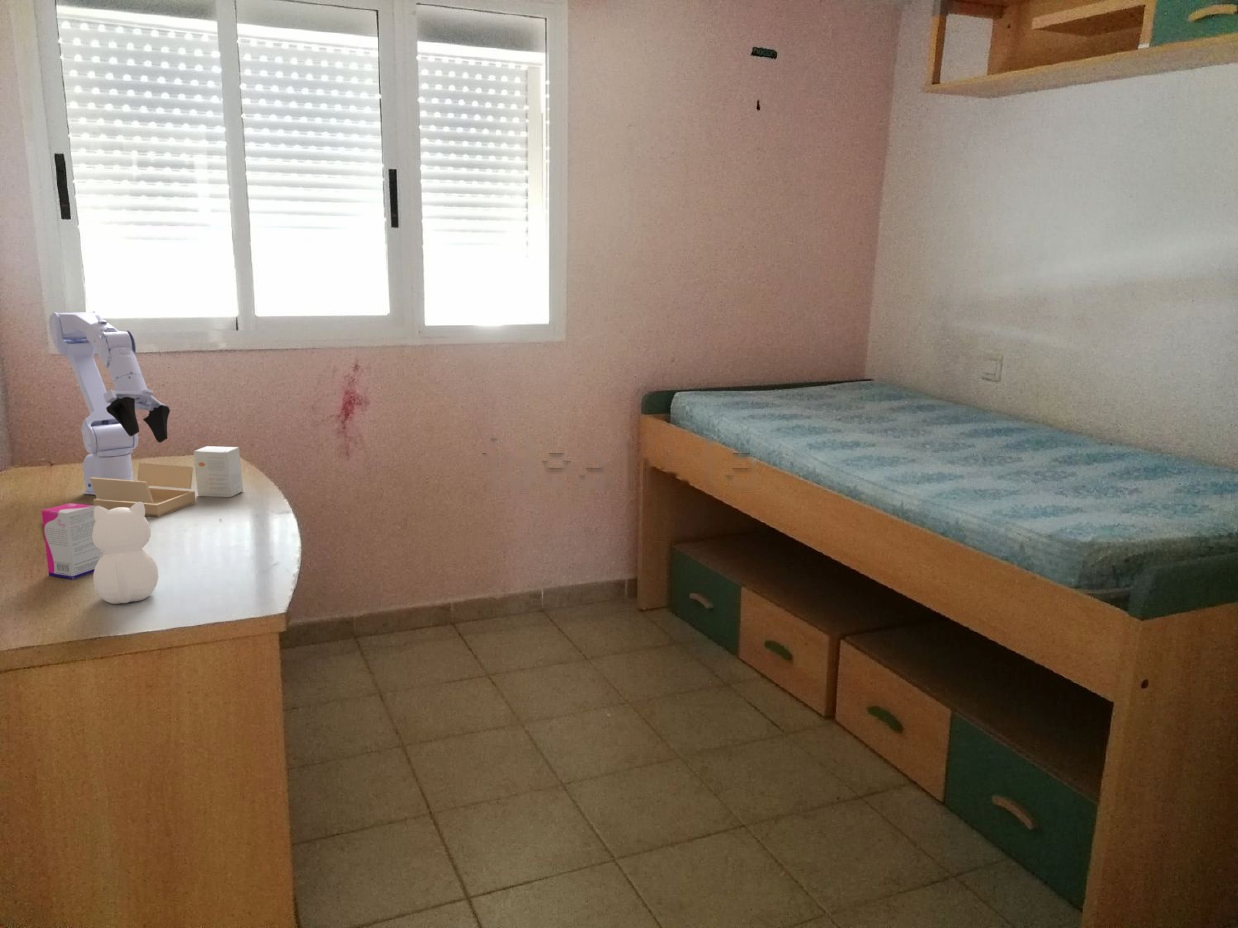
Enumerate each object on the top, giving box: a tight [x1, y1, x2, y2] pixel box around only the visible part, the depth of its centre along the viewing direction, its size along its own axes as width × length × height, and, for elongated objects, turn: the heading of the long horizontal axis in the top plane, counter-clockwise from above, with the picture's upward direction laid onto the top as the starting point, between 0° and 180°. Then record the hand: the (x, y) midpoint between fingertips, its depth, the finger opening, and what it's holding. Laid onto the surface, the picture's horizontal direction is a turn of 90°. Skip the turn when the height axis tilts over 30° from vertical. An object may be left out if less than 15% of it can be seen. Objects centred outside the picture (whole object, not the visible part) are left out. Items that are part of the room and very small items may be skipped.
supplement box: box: [41, 502, 102, 580], centre depth 152 cm, size 6×6×12 cm
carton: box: [92, 487, 197, 518], centre depth 193 cm, size 15×12×3 cm
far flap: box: [136, 462, 194, 490], centre depth 198 cm, size 13×5×1 cm
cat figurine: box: [92, 502, 159, 605], centre depth 141 cm, size 9×12×15 cm
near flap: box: [90, 477, 153, 503], centre depth 186 cm, size 13×5×1 cm
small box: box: [193, 445, 244, 498], centre depth 204 cm, size 8×6×10 cm
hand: (148, 437), depth 185 cm, fingers open, 7 cm apart
